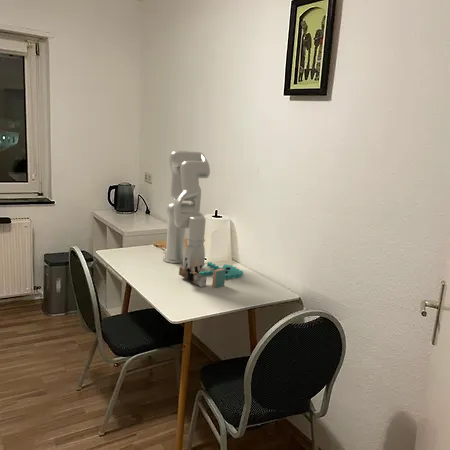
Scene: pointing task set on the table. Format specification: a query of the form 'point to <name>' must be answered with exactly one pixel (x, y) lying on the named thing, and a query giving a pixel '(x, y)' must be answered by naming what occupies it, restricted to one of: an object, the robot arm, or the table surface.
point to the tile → (218, 278)
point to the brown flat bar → (194, 277)
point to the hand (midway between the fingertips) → (192, 279)
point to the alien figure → (230, 272)
